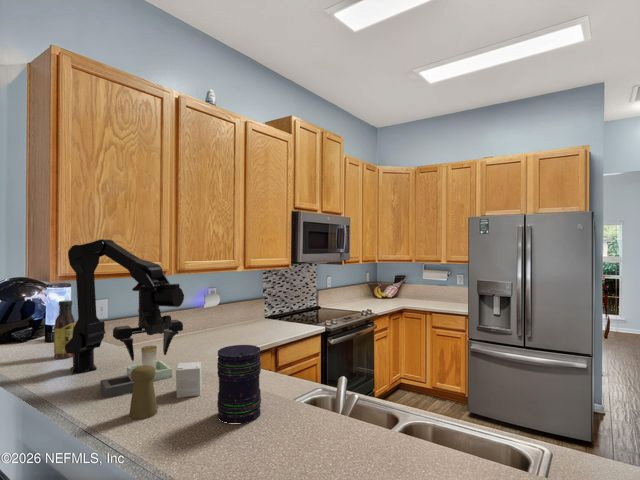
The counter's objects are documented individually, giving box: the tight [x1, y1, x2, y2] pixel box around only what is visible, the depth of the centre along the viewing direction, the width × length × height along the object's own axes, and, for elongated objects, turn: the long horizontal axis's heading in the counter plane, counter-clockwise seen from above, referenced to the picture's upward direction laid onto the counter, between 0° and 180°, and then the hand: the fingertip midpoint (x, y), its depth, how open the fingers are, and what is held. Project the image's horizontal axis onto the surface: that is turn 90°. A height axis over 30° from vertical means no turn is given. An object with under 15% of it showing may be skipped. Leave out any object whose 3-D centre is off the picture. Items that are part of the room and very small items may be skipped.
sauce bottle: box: [53, 299, 76, 360], centre depth 138 cm, size 7×6×20 cm
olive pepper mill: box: [128, 365, 158, 421], centre depth 90 cm, size 6×6×11 cm
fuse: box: [140, 345, 158, 371], centre depth 116 cm, size 4×4×8 cm
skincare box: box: [175, 361, 203, 399], centre depth 103 cm, size 6×6×7 cm
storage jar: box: [216, 344, 262, 424], centre depth 89 cm, size 10×10×15 cm
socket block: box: [99, 374, 134, 399], centre depth 105 cm, size 8×8×2 cm
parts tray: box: [126, 359, 173, 382], centre depth 116 cm, size 11×10×2 cm
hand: (149, 357), depth 117 cm, fingers open, 9 cm apart
